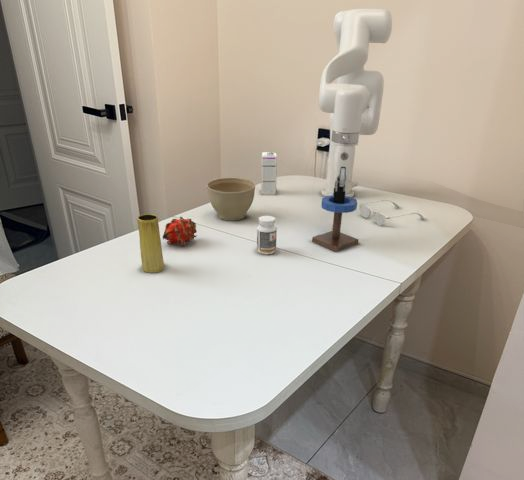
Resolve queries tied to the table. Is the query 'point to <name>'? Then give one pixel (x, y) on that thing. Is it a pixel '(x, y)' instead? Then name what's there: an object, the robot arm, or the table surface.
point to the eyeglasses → (378, 216)
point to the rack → (335, 237)
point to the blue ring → (348, 205)
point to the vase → (150, 243)
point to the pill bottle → (266, 235)
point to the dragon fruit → (179, 231)
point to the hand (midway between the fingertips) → (338, 202)
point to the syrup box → (269, 173)
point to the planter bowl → (231, 197)
